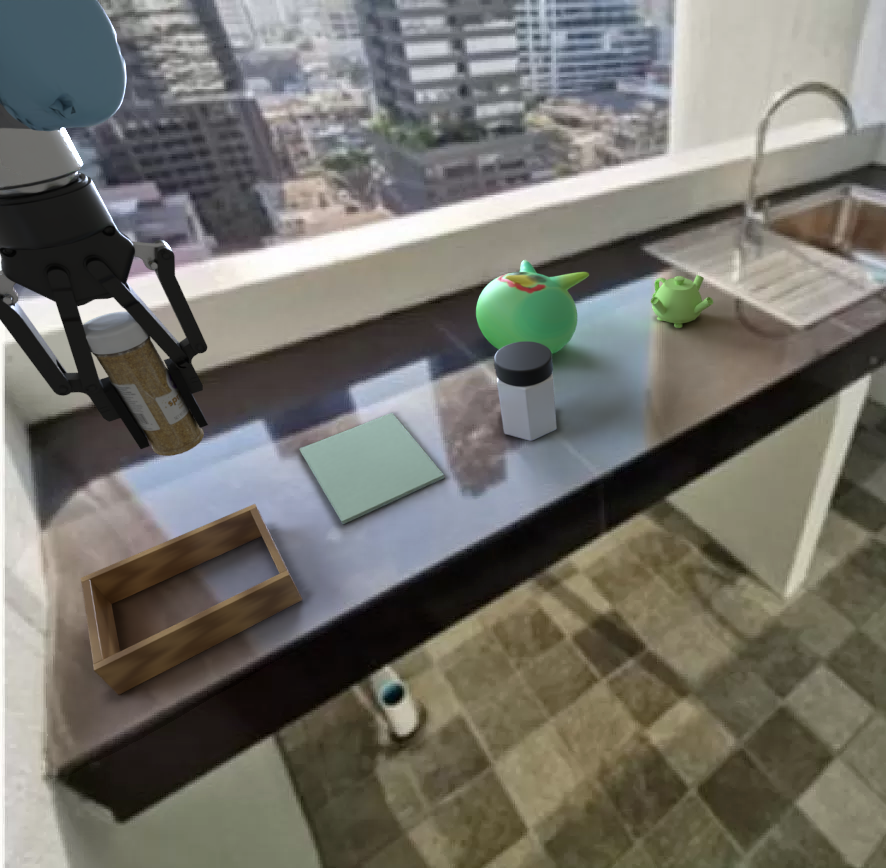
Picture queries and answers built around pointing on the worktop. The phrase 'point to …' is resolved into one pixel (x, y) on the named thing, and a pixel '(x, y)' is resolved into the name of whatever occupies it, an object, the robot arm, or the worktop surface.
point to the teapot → (679, 300)
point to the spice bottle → (143, 382)
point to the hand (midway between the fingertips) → (172, 429)
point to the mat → (369, 466)
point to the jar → (526, 389)
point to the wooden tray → (195, 631)
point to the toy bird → (529, 308)
